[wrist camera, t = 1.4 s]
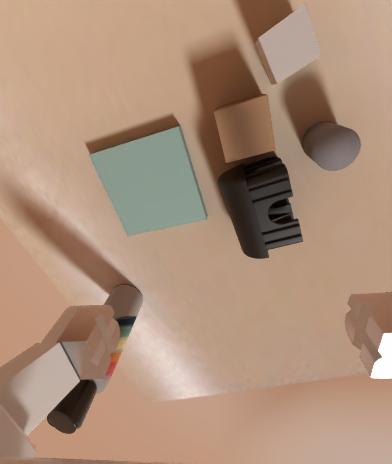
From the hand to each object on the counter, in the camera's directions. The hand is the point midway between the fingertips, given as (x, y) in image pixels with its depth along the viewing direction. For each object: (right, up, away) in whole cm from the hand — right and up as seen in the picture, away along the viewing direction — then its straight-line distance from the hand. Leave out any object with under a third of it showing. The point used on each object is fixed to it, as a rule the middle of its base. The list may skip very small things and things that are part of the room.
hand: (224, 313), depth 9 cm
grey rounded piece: (+13, +13, +19) cm, 27 cm away
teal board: (-7, +9, +25) cm, 27 cm away
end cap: (+7, +7, +24) cm, 26 cm away
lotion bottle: (-13, -8, +36) cm, 39 cm away
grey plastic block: (+8, +21, +16) cm, 27 cm away
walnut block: (+4, +15, +20) cm, 25 cm away
